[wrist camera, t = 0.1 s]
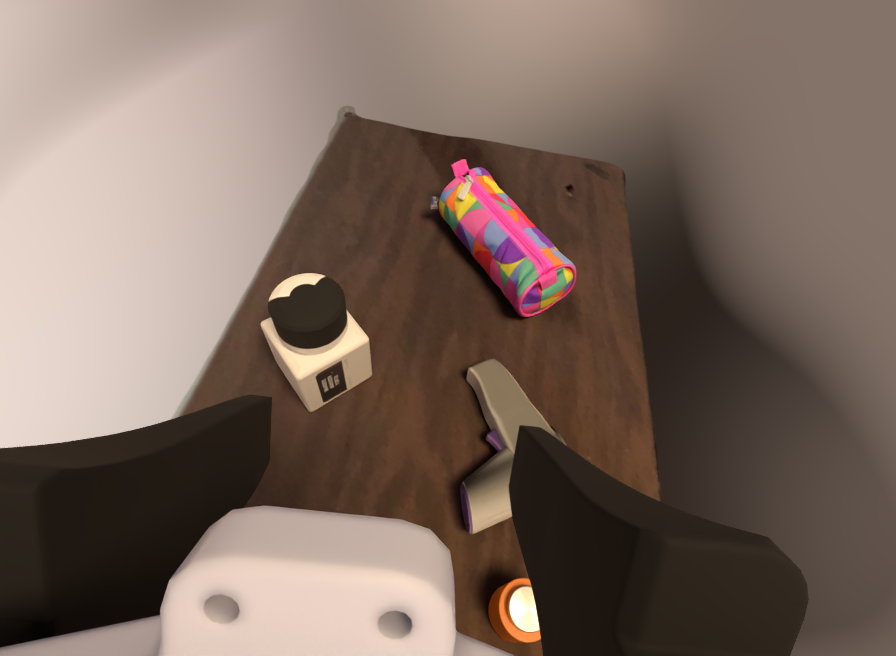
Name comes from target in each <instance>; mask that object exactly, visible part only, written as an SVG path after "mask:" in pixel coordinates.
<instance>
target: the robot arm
mask: <svg viewBox="0 0 896 656" xmlns="http://www.w3.org/2000/svg"><path fill="white" fill-rule="evenodd" d="M271 406H272V397H266V396H257V395H246V396H242V397H238V398H235V399H232V400H229V401H226V402H223V403H220V404H217V405H214V406H211V407H208V408H205V409H202V410H200V411H197V412H194V413H191V414H187V415H184V416H181V417H178V418H175V419H171V420H168V421H165V422H162V423H158V424H155V425H151V426H147V427H143V428H139V429H135V430H131V431H126V432H122V433H118V434H113V435H108V436H102V437H95V438H89V439H83V440H76V441H70V442H63V443H55V444H47V445H37V446H25V447H13V448H0V656H515V655H513V654H510V653H508V652H505V651H503V650H500V649H498V648H496V647H493V646H491V645H488V644H486V643H483V642H481V641H478V640H476V639H473V638H471V637H469V636H466V635H464V634H461V633H459V632H458V631H457V630H456V621H455V593H454V574H453V568H452V561H451V555H450V550H449V549H448V548H447V547H446V546H445V545H444V544H443V543H442V542H441V541H440V539H439V538H438V537H437V536H436V535H435V534H434V533H433V532H432V531H431V530H430V529H427V528H424V527H422V526H419V525H416V524H413V523H410V522H407V521H404V520H401V519H392V518H383V517H373V516H363V515H353V514H343V513H333V512H323V511H314V510H304V509H294V508H284V507H274V506H257V507H249V508H243V507H244V506H245V504H246V503H247V501H248V500H249V499H250V497H251V496H252V494H253V493H254V491H255V489H256V488H257V486H258V484H259V482H260V480H261V478H262V476H263V474H264V472H265V470H266V468H267V465H268V463H269V458H270V432H271ZM508 487H509V496H510V505H511V512H512V518H513V522H514V526H515V529H516V533H517V537H518V540H519V544H520V547H521V551H522V555H523V558H524V562H525V565H526V569H527V572H528V576H529V580H530V583H531V587H532V591H533V596H534V600H535V606H536V612H537V618H538V624H539V630H540V636H541V642H542V649H543V656H790V654H791V651H792V649H793V646H794V643H795V641H796V638H797V636H798V633H799V631H800V628H801V625H802V622H803V620H804V617H805V612H806V608H807V603H808V590H807V583H806V581H805V579H804V577H803V574H802V572H801V570H800V569H799V568H798V567H797V566H796V565H795V564H794V563H793V562H792V561H791V560H790V559H789V558H788V557H787V556H786V555H785V554H784V553H783V552H782V551H781V550H780V549H779V548H778V547H777V546H776V545H775V544H774V543H773V542H772V541H771V540H770V539H769V538H768V537H765V536H762V535H758V534H754V533H751V532H747V531H743V530H740V529H736V528H732V527H729V526H725V525H721V524H718V523H715V522H712V521H709V520H706V519H703V518H700V517H698V516H694V515H692V514H689V513H686V512H684V511H681V510H679V509H676V508H673V507H671V506H669V505H666V504H664V503H662V502H660V501H657V500H655V499H653V498H651V497H648V496H646V495H644V494H642V493H640V492H638V491H636V490H634V489H633V488H631V487H629V486H627V485H625V484H623V483H621V482H620V481H618V480H616V479H614V478H613V477H611V476H609V475H608V474H606V473H605V472H603V471H602V470H600V469H599V468H597V467H596V466H594V465H592V464H591V463H590V462H588V461H587V460H585V459H584V458H582V457H581V456H580V455H578V454H577V453H576V452H574V451H573V450H572V449H570V448H569V447H568V446H566V445H565V444H564V443H562V442H561V441H560V440H558V439H557V438H556V437H554V436H553V435H552V434H550V433H549V432H547V431H546V430H544V429H542V428H541V427H533V426H525V425H519V431H518V436H517V442H516V447H515V453H514V459H513V464H512V470H511V475H510V481H509V486H508Z"/></svg>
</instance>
